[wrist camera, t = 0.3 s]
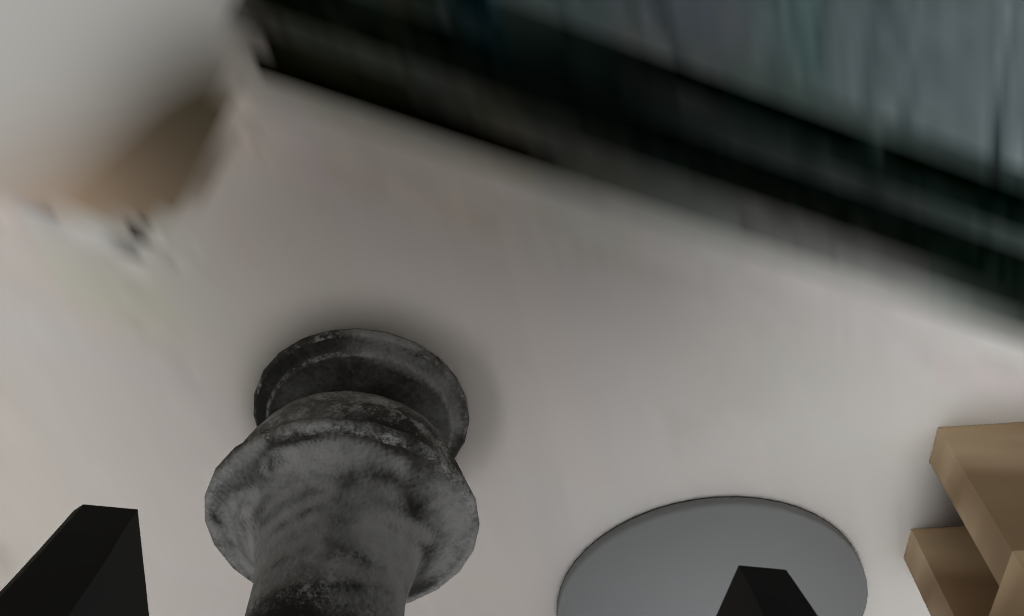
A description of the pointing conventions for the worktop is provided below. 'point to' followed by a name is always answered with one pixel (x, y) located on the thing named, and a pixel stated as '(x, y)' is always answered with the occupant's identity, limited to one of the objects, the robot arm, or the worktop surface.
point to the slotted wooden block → (975, 525)
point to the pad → (711, 560)
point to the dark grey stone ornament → (347, 480)
